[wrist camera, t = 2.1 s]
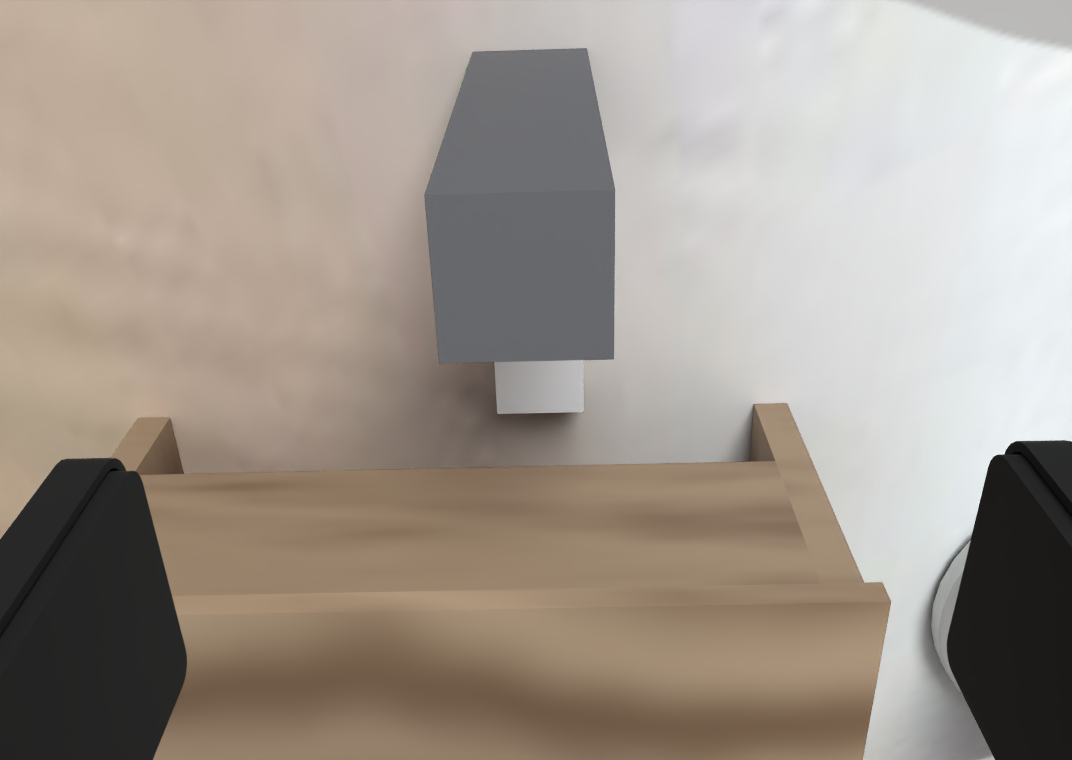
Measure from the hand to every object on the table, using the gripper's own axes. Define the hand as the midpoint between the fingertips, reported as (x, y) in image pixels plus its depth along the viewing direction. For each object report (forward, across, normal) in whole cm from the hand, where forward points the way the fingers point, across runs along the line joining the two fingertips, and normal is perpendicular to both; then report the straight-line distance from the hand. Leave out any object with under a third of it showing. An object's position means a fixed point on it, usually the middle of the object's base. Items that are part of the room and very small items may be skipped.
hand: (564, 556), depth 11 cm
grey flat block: (+23, 0, +5) cm, 23 cm away
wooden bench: (+23, +3, +15) cm, 27 cm away
